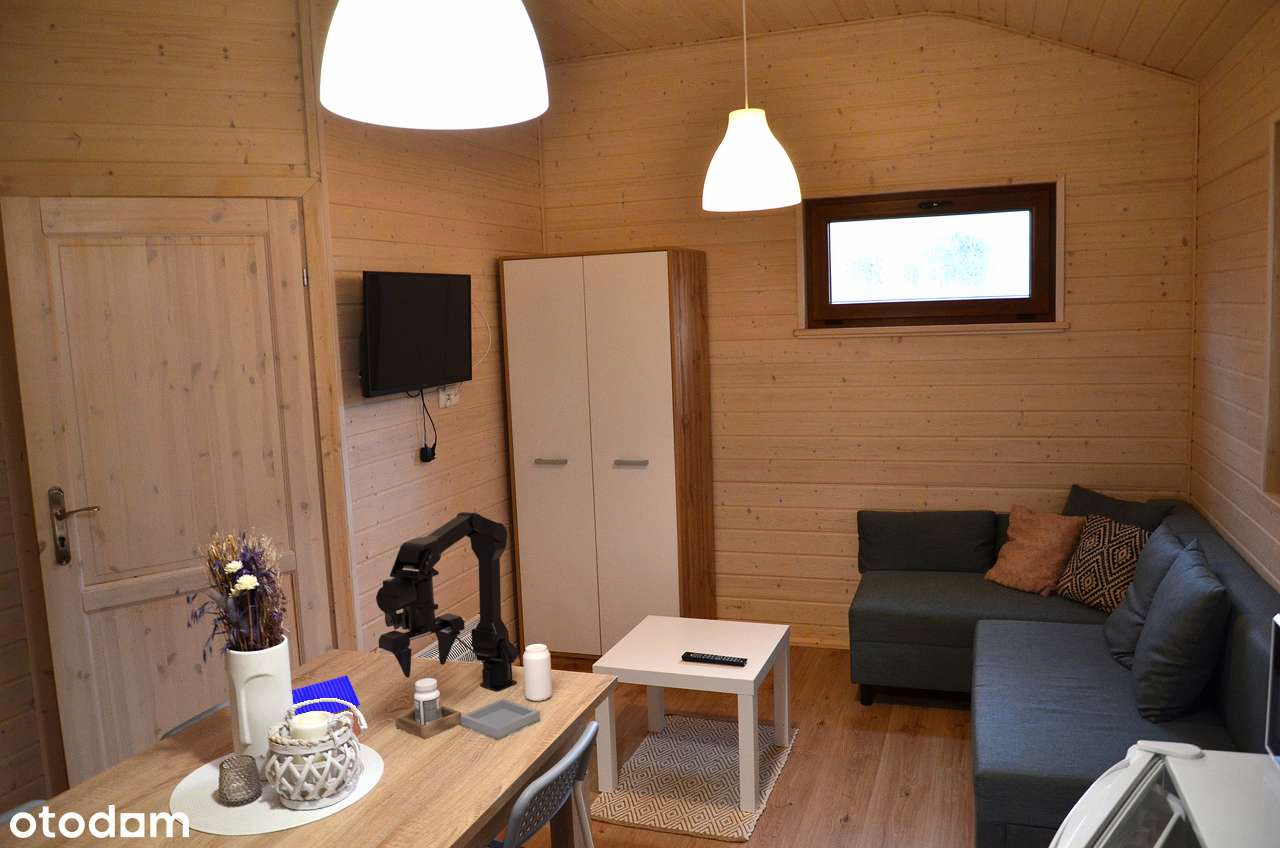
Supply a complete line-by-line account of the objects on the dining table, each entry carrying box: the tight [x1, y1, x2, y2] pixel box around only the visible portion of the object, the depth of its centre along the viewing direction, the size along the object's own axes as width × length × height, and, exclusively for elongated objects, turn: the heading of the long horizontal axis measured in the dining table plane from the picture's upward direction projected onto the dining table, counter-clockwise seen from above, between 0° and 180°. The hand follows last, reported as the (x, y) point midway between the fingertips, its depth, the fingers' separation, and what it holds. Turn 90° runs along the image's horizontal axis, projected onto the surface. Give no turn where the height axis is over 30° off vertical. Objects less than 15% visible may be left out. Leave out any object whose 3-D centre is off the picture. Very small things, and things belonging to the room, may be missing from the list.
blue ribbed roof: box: [291, 674, 361, 736], centre depth 210 cm, size 12×20×12 cm, turn 130°
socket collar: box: [394, 704, 463, 741], centre depth 215 cm, size 10×10×2 cm
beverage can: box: [522, 643, 553, 702], centre depth 228 cm, size 6×6×12 cm
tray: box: [460, 698, 541, 741], centre depth 214 cm, size 12×12×2 cm
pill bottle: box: [413, 677, 442, 725], centre depth 214 cm, size 6×6×10 cm
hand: (425, 670), depth 214 cm, fingers open, 9 cm apart
